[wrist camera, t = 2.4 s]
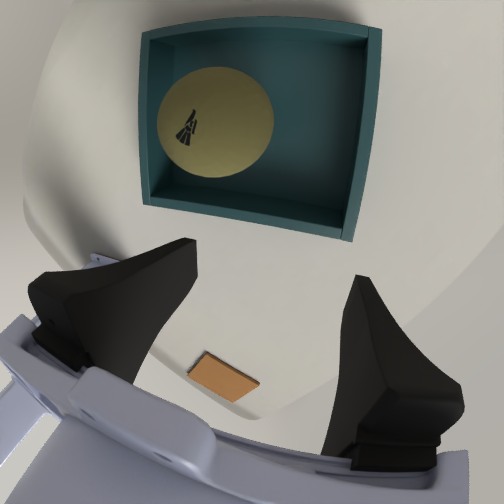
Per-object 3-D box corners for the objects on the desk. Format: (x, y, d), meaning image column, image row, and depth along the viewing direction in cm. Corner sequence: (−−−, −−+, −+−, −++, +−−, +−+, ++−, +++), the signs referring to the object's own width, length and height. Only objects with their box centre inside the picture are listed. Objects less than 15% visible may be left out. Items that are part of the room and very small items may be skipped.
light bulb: (289, 159, 19) (244, 204, 11) (217, 147, 20) (132, 182, 12) (300, 85, 16) (263, 61, 8) (224, 77, 17) (136, 64, 9)
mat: (233, 400, 38) (232, 402, 38) (188, 374, 38) (186, 376, 37) (260, 383, 34) (259, 385, 33) (207, 352, 33) (206, 354, 33)
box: (168, 190, 24) (142, 204, 21) (169, 39, 17) (141, 32, 14) (350, 220, 20) (351, 242, 17) (374, 43, 13) (382, 28, 10)
